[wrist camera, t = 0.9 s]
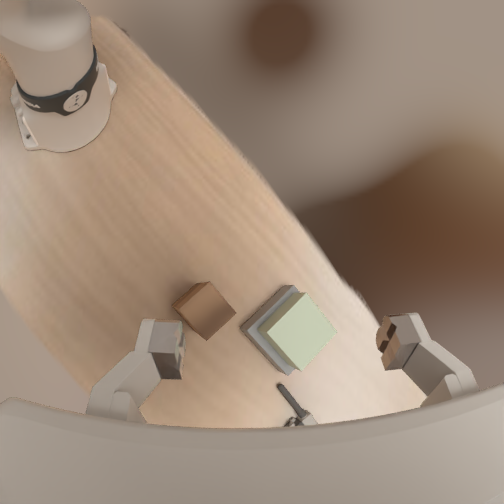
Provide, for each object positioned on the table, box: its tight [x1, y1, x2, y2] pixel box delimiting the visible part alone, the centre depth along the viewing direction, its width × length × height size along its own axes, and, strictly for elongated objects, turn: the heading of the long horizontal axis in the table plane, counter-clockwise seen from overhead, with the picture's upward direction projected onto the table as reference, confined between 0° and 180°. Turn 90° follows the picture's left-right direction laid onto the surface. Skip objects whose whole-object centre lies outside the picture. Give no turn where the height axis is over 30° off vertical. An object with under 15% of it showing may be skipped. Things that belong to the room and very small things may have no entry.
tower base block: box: [240, 285, 300, 376], centre depth 49 cm, size 10×10×4 cm
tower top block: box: [257, 293, 337, 371], centre depth 46 cm, size 8×8×4 cm
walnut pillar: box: [172, 282, 236, 341], centre depth 42 cm, size 5×5×10 cm
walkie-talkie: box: [278, 384, 318, 427], centre depth 48 cm, size 9×4×20 cm
